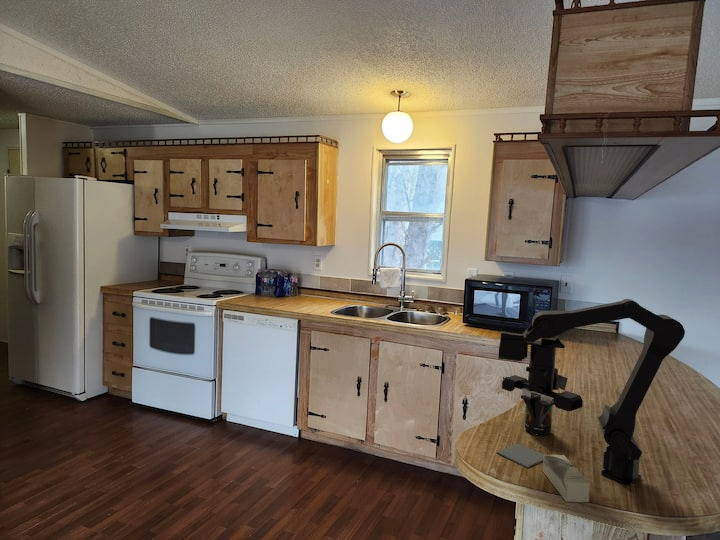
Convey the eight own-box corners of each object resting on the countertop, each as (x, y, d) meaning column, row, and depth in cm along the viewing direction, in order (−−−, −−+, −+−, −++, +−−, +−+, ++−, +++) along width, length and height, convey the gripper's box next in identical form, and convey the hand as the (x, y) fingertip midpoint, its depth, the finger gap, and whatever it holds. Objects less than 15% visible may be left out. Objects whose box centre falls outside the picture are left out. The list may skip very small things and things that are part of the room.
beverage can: (524, 433, 134) (526, 392, 133) (524, 424, 141) (527, 384, 140) (551, 438, 132) (553, 395, 131) (550, 428, 138) (553, 388, 137)
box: (564, 454, 112) (592, 482, 99) (563, 472, 113) (590, 503, 100) (542, 454, 112) (567, 482, 99) (541, 472, 112) (565, 502, 100)
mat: (548, 458, 119) (549, 456, 119) (527, 467, 114) (527, 466, 114) (518, 444, 127) (518, 443, 127) (496, 453, 121) (496, 451, 121)
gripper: (597, 368, 113) (592, 432, 114) (528, 351, 128) (524, 407, 129) (571, 375, 106) (566, 443, 107) (502, 356, 121) (498, 416, 122)
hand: (537, 426), depth 117 cm, fingers closed
